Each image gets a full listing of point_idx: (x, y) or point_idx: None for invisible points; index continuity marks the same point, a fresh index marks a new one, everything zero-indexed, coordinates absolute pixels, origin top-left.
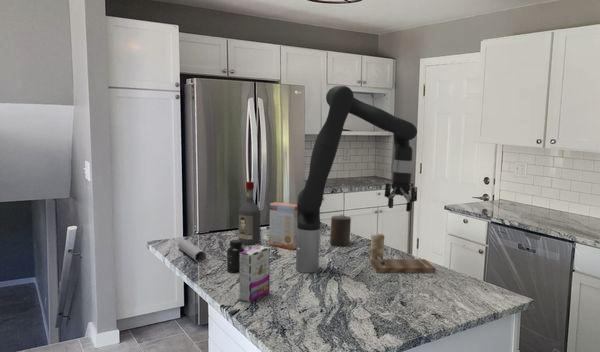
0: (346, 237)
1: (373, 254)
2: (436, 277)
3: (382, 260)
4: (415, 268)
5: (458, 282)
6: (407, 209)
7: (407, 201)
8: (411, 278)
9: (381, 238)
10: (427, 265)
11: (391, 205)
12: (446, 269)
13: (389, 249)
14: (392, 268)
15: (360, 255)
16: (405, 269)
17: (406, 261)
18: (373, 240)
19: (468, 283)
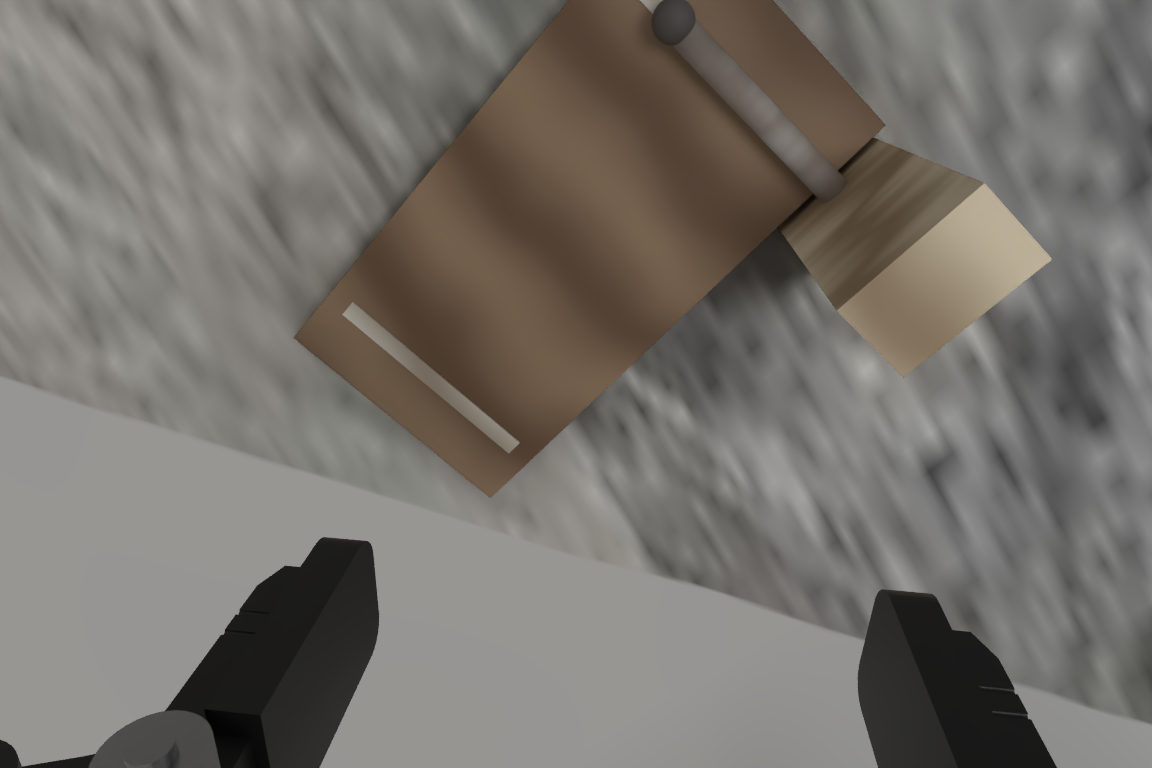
0: None
1: (881, 160)
2: (235, 223)
3: (764, 183)
4: (402, 204)
5: (64, 238)
6: (313, 562)
7: (207, 743)
8: (343, 18)
9: (859, 269)
10: (380, 358)
11: (887, 679)
12: (312, 466)
13: None
14: (551, 23)
15: (1093, 297)
16: (464, 128)
17: (573, 332)
18: (946, 181)
19: (12, 273)
